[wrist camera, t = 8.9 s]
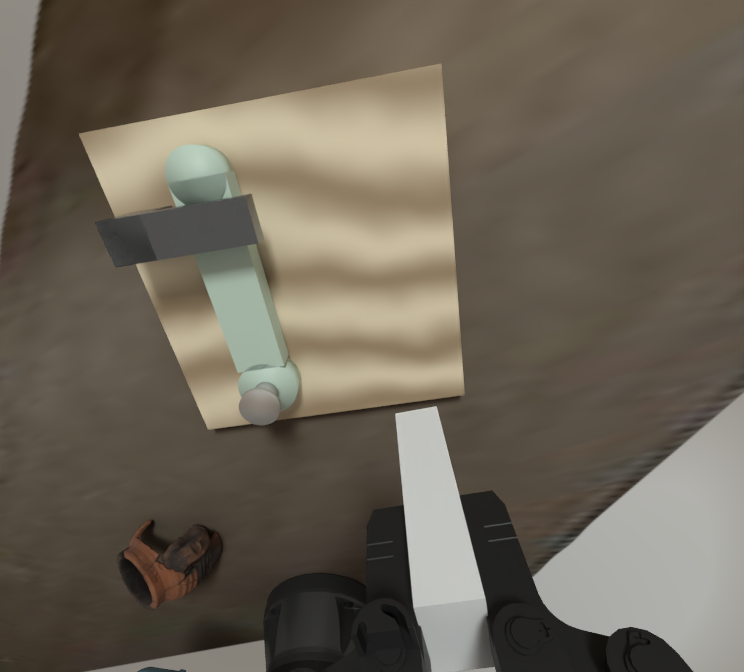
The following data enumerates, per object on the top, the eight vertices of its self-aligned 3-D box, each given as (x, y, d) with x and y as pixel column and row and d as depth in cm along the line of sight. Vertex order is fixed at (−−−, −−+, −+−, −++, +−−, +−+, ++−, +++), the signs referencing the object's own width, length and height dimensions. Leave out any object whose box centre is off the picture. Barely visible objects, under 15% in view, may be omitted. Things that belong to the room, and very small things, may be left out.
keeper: (273, 230, 30) (258, 243, 26) (149, 251, 30) (115, 267, 26) (262, 189, 28) (244, 195, 24) (133, 212, 29) (94, 222, 25)
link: (306, 395, 36) (303, 408, 34) (254, 403, 36) (248, 416, 34) (232, 138, 27) (221, 137, 25) (162, 151, 27) (147, 152, 25)
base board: (461, 386, 38) (478, 430, 32) (213, 419, 39) (185, 468, 33) (437, 67, 26) (457, 44, 20) (92, 134, 28) (18, 130, 22)
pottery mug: (208, 569, 51) (146, 626, 44) (167, 509, 52) (101, 555, 45) (249, 546, 44) (183, 608, 37) (201, 477, 45) (130, 525, 38)
